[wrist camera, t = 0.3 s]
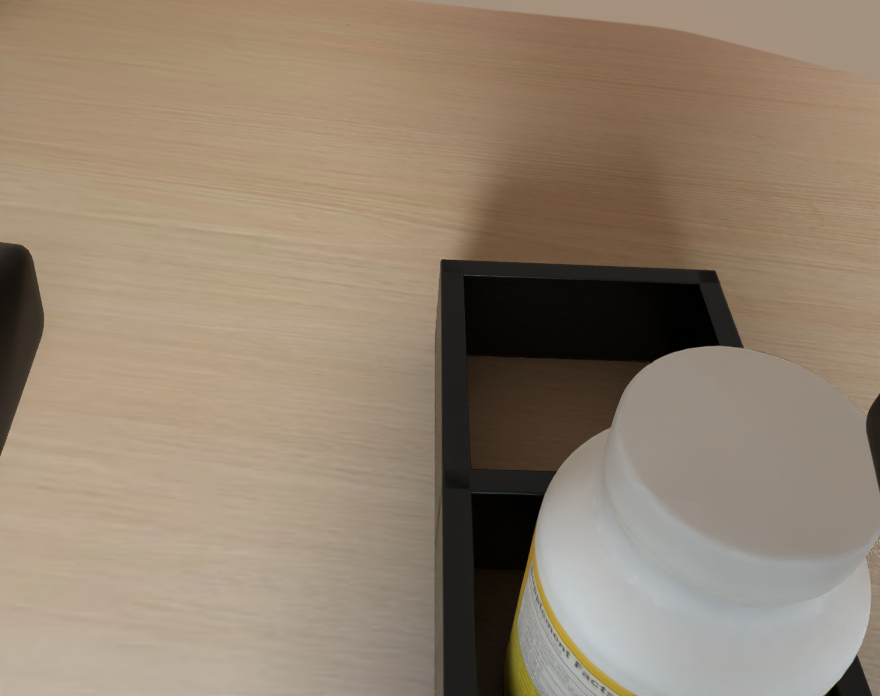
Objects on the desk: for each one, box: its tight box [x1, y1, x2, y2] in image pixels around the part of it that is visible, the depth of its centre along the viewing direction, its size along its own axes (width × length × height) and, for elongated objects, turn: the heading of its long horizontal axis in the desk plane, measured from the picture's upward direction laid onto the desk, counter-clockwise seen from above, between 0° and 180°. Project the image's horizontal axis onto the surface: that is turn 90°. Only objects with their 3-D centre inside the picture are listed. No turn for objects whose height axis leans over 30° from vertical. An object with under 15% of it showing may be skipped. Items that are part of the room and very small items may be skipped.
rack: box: [435, 259, 872, 696], centre depth 24 cm, size 19×10×4 cm, turn 0°
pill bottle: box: [502, 346, 880, 696], centre depth 18 cm, size 6×6×12 cm
